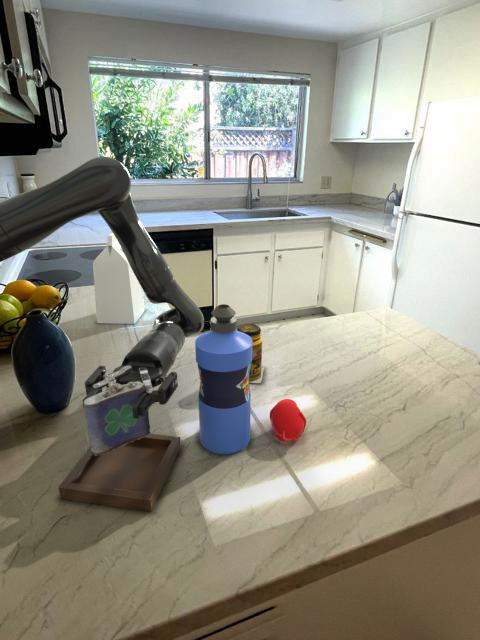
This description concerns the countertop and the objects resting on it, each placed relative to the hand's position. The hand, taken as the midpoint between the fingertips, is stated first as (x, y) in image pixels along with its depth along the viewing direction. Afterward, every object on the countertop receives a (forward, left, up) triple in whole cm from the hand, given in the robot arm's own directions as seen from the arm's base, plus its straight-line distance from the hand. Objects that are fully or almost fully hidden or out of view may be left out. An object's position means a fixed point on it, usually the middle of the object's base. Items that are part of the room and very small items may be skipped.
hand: (110, 410), depth 58 cm
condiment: (+14, +36, -13) cm, 41 cm away
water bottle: (+14, +13, -13) cm, 23 cm away
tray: (0, +2, -13) cm, 13 cm away
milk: (-30, +66, -13) cm, 74 cm away
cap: (+25, +16, -13) cm, 32 cm away
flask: (0, +2, -7) cm, 7 cm away
